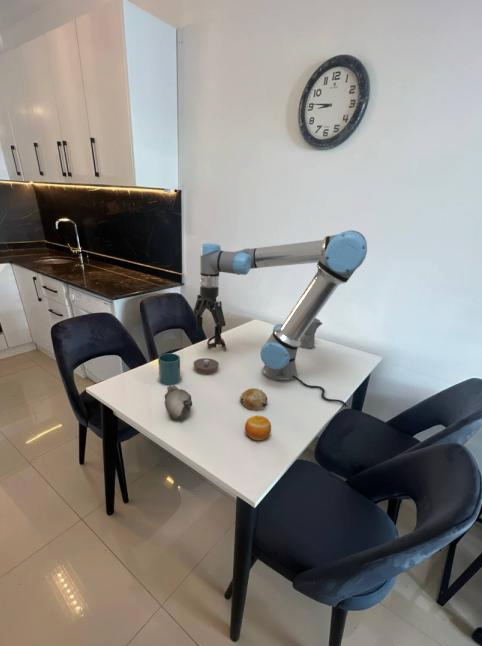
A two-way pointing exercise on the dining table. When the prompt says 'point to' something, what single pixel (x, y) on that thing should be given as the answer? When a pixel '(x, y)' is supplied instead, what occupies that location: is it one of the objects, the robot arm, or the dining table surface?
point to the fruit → (258, 427)
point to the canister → (169, 369)
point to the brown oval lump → (254, 399)
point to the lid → (206, 366)
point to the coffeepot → (310, 334)
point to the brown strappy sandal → (216, 343)
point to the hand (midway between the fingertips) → (208, 336)
